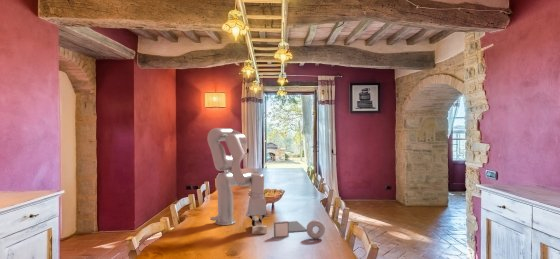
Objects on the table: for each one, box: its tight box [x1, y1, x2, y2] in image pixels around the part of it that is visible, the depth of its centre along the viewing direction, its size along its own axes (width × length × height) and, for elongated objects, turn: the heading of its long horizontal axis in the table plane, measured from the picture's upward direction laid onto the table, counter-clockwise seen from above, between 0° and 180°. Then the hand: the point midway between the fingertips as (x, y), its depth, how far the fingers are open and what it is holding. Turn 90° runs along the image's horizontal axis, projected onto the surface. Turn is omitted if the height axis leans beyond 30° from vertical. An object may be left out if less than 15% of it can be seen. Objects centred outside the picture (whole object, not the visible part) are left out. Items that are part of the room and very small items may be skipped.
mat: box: [288, 220, 307, 233], centre depth 201 cm, size 12×20×1 cm, turn 14°
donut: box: [305, 219, 326, 240], centre depth 179 cm, size 10×4×10 cm, turn 91°
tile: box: [273, 220, 290, 238], centre depth 183 cm, size 8×2×8 cm, turn 104°
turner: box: [251, 215, 268, 235], centre depth 195 cm, size 8×17×4 cm, turn 14°
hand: (256, 226), depth 196 cm, fingers closed on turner, 2 cm apart
